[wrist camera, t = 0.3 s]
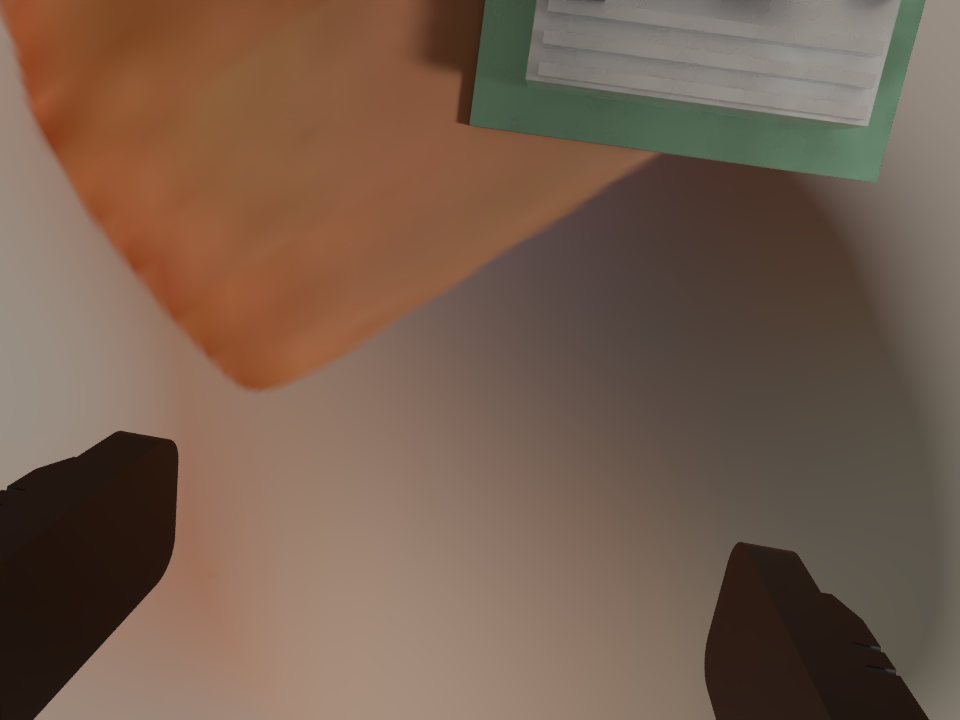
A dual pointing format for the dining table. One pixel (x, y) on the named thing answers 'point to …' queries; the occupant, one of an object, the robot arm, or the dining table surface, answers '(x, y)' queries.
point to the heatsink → (702, 77)
